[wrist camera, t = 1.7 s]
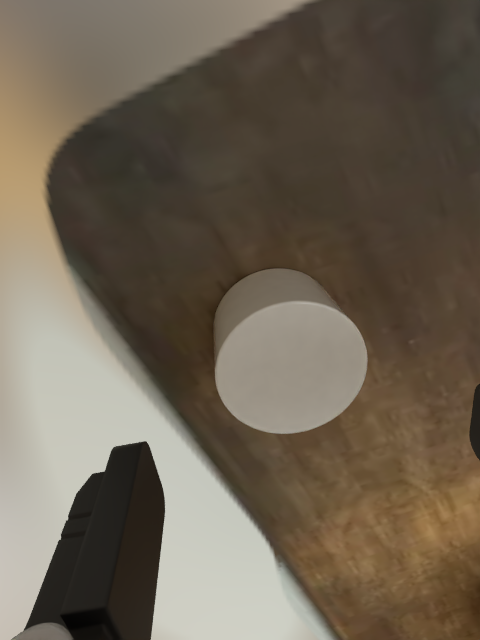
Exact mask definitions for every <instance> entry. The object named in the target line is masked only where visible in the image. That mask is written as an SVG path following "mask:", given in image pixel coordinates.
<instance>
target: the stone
mask: <svg viewBox="0 0 480 640" xmlns="http://www.w3.org/2000/svg"><path fill="white" fill-rule="evenodd" d="M213 338H214V367H215V382H216V387H217V390H218V394H219V396H220V398H221V400H222V402H223V403H224V405H225V406H226V408H227V409H228V410H229V411H230V412H231V413H232V414H233V415H234V416H235V417H236V418H237V419H238V420H240V421H241V422H243V423H244V424H246V425H248V426H250V427H252V428H254V429H257V430H261V431H264V432H269V433H277V434H291V433H299V432H303V431H308V430H311V429H314V428H317V427H319V426H321V425H323V424H325V423H327V422H329V421H331V420H332V419H334V418H335V417H337V416H338V415H339V414H341V413H342V412H343V411H344V410H345V409H346V408H347V407H348V406H349V405H350V404H351V403H352V401H353V400H354V399H355V397H356V396H357V394H358V393H359V391H360V389H361V387H362V385H363V382H364V379H365V376H366V371H367V360H368V359H367V349H366V345H365V342H364V339H363V337H362V335H361V333H360V331H359V330H358V328H357V327H356V325H355V324H354V323H353V322H352V321H351V319H350V318H349V317H348V316H347V315H346V314H345V312H344V311H343V310H342V309H341V308H340V307H339V305H338V304H337V303H336V302H335V301H334V299H333V298H332V297H331V296H330V295H329V294H328V292H327V291H326V290H325V289H324V288H323V287H322V285H321V284H319V283H318V282H317V281H316V280H315V279H313V278H312V277H310V276H308V275H306V274H304V273H302V272H299V271H295V270H291V269H284V268H275V269H267V270H262V271H258V272H256V273H253V274H251V275H249V276H247V277H245V278H243V279H242V280H240V281H239V282H237V283H236V284H235V285H234V286H233V287H232V288H230V289H229V291H228V292H227V293H226V294H225V295H224V297H223V298H222V300H221V302H220V304H219V306H218V308H217V310H216V314H215V317H214V323H213Z"/></svg>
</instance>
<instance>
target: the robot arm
mask: <svg viewBox="0 0 480 640" xmlns="http://www.w3.org/2000/svg"><path fill="white" fill-rule="evenodd" d="M469 435H470V442H471V445H472V448H473V450H474V452H475V454H476V456H477V457H478V459H479V460H480V384H479V385H477V387H476V389H475V393H474V401H473V409H472V417H471V425H470V434H469ZM164 515H165V500H164V493H163V488H162V484H161V481H160V478H159V475H158V472H157V469H156V466H155V462H154V460H153V456H152V453H151V450H150V447H149V445H148V443H147V442H139V443H134V444H128V445H122V446H116V447H114V448H113V449H112V451H111V454H110V457H109V460H108V463H107V466H106V470H105V472H100V473H94V474H92V475H91V476H90V478H89V479H88V480H87V481H86V483H85V484H84V485H83V486H82V488H81V489H80V491H78V493H77V494H76V497H75V499H74V502H73V505H72V507H71V510H70V512H69V515H68V521H66V523H65V526H64V528H63V531H62V534H61V540H59V541H58V545H57V547H56V550H55V552H54V555H53V557H52V560H51V563H50V565H49V568H48V570H47V573H46V576H45V578H44V581H43V584H42V587H41V589H40V592H39V594H38V597H37V600H36V602H35V605H34V608H33V610H32V613H31V616H30V618H29V620H28V623H27V625H26V627H25V629H24V631H23V632H21V633H20V634H18V635H17V636H15V637H14V638H13V639H11V640H150V639H151V631H152V623H153V614H154V605H155V596H156V587H157V578H158V570H159V560H160V551H161V543H162V534H163V525H164Z"/></svg>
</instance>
